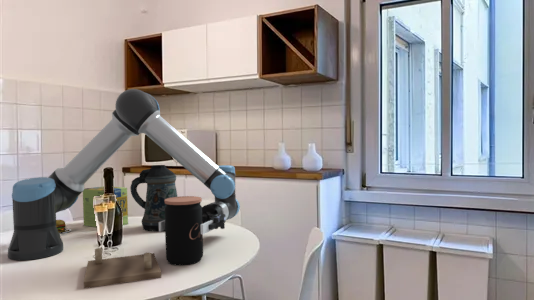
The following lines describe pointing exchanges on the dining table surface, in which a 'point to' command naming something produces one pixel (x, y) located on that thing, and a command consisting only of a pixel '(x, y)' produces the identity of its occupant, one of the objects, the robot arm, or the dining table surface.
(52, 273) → the dining table surface
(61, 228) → the hamburger
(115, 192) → the protein box
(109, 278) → the pegged base plate
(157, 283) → the dining table surface
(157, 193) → the beer stein
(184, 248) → the coffee jar
